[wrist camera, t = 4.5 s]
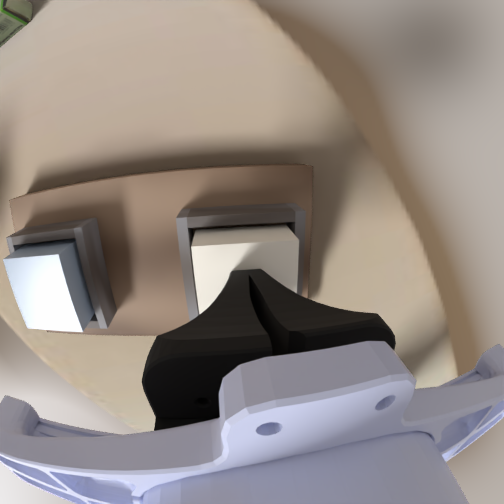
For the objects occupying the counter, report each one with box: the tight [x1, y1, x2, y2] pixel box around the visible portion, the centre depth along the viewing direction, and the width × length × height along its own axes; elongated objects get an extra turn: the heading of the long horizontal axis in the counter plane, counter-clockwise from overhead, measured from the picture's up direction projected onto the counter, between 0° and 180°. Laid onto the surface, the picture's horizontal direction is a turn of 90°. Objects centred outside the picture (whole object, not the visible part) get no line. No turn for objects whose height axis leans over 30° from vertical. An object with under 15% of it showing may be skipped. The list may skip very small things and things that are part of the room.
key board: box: [6, 164, 313, 336], centre depth 15 cm, size 10×19×4 cm, turn 91°
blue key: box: [3, 239, 95, 332], centre depth 12 cm, size 4×4×2 cm
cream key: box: [191, 225, 299, 314], centre depth 13 cm, size 4×4×2 cm
